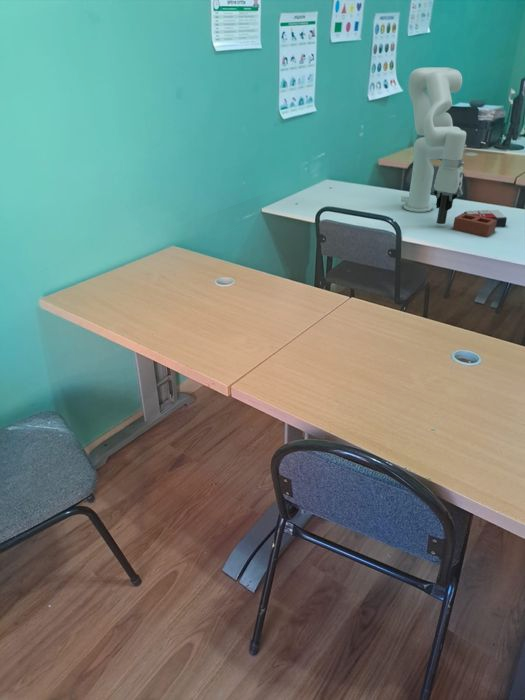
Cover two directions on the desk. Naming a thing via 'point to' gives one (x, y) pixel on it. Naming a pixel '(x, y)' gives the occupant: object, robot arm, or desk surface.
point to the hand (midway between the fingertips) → (443, 208)
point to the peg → (442, 208)
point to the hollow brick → (474, 224)
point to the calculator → (490, 215)
